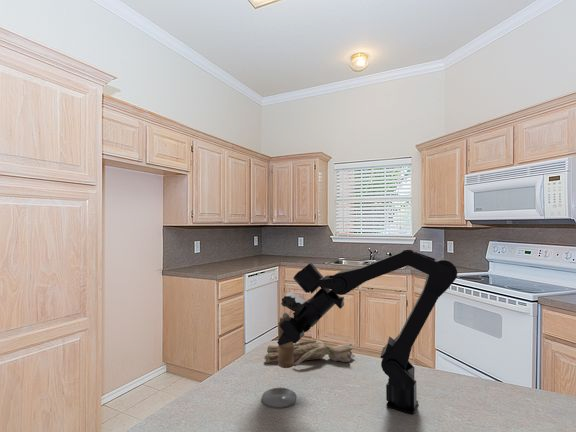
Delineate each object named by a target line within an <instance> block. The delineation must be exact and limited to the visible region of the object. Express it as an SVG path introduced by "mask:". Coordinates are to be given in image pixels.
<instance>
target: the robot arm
mask: <svg viewBox="0 0 576 432" xmlns="http://www.w3.org/2000/svg"><path fill="white" fill-rule="evenodd" d="M408 266H409V267H411V268H413V269H415V270H417V271H420V272H422V273H423V274H426V278H425V281H424V285H423V288H422V291H421V293H420V294H419V296H418V298H417V299H416V302H415V304H414V306H413V307H412V310H411V311H410V313H409V315H408V316H407V319H406V320H405V322H404V325H403V326H402V328H401V330H400V332H399V333H398V335H397V336H396V337H395V338H392V337H391V336H388V340H387V343H386V344H385V345H384V346H383V347H382V351H381V352H380V353H381V354H380V359H381V363H380V366H381V369H382V371H383V373H384V374H385V375H386V376H388V379H387V380H388V381H387V383H386V385H385V388H386V389H385V391H386V392H385V395H386V396H385V398H386V399H385V400H386V401H387V403H386V407H387V408H389V409H393V410H396V411H400V412H404V413H406V414H410V415H414V414H415V412H416V409H417V407H418V404H419V400H418V399H417V398H418V397H417V396H418V395H417V380H415V376H416V375H415V366H414V365H413V364H412V363H411V362H410V361H409V360H410V359H409V358H410V356H411V351H412V348H413V346H414V343H415V342H416V340H417V338H418V336H419V334H420V333H421V330H422V329H423V327H424V325H425V324H426V322H427V320H428V318H429V316H430V314H431V312H432V310H433V308H434V307H435V305H436V303H437V301H438V300H439V298H440V297H441V296H442V295H443V294H444V293H446V291H447V290H448V289H449V288H450V287H451V285H452V284H453V283H454V282H455V280H456V279H457V277H458V270H457V267H456V266H455V264H454V263H453V262H452V261H451V260H449V259H448V258H445V257H439V258H434V257H431V256H428V255H425V254H422V253H420V252H417V251H415V250H413V249H412V248H405V249H403V250H402V251H400V252H398V253H395V254H393V255H390V256H387V257H385V258H382V259H380V260H377V261H374V262H372V263H369V264H366V265H364V266H361V267H356V268H355V267H354V268H350V269H349V268H348V269H344V270H341V271H339V272H337V273H335V274H333V275H329V274H327V275H325V276H323V275H322V274H321V272H319V270H318V269H317V268H316V267H315V265H314V264H313V263H312V262H309V263H308V264H307V265H306V266H305V267H303V268H302V269H300V270H299V271H298V272H297V273H295V275H294V276H293V277H292V279H293V280H294V281H295V283H297V285H298V286H299V287H300V288H301V289H302V290H303V291H304V292H305V293H306V294H313V293H314V294H313V296H311V297H310V298H309V299H307V300H305V299H303V298H302V297H301V296H299V295H297V294H295V293H294V292H291V291H289V292H287V293H285V295H284V297H282V299H281V302H280V305H281V306H282V307H286V308H287V309H289V310H291V311H292V312H293V313H292V315H293V316H292V317H291V316H289V317H288V318H287V319H285V320H284V321H283V322H282V323H281V324H280V328H281V329H282V330H283V331H284V332H283V333H282V335H281V337H280V338H279V340H278V339H277V342H276V343H277V344H279V345H283V344H286V343H289V342H293V343H294V344H297V343H299V341H300V340H301V339H302V338H303V337H304V336H305V333H306V332H309V331H310V330H311V328H313V327H314V326H315V325H316V324H317V323H318V322H319V320H320V319H321V318H322V317H324V315H326V313H328V312H329V311H330V310H331V309H332V308H333V307H334V306H336V307H338V309H340V310H341V309H342V308H343V307H344V306H345V302H344V300H345V296H344V295H346V294H349V293H350V292H351V291H354V290H355V289H357V288H358V287H359V286H361V285H362V284H364V283H366V282H368V281H370V280H373V279H376V278H379V277H381V276H384V275H386V274H389V273H391V272H394V271H397V270H399V269H402V268H405V267H408ZM319 288H320V289H319ZM317 290H318V291H317ZM316 291H317V292H316Z"/></svg>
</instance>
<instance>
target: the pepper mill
mask: <svg viewBox="0 0 576 432" xmlns="http://www.w3.org/2000/svg"><path fill="white" fill-rule="evenodd" d="M281 316H282V317H279V321H278V323H277V327H278V328H277V329H278V331H277V333H278V335H277V338H278V339H277V341H278V340H279V338H280V337H281V335H282V333H283V332H284V331H283V330H282V329H281V328H280V324H281V323H282V322H283V321H284V320H285V319H287V318H288V317H290V314H289V313H288V312H283V314H282V315H281ZM277 344H278V343H277ZM294 344H295V343H293V342H289V343H286V344H283V345H279V344H278V345H277V346H278V364H277V365H278V367H279V368H281V369H290V368H293V367H295V366H294V363H295V361H294Z"/></svg>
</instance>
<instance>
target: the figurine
mask: <svg viewBox="0 0 576 432" xmlns="http://www.w3.org/2000/svg"><path fill="white" fill-rule="evenodd" d="M266 349H267V350H266V352H267V354H266V356H265V363H267V364H275V363H276V364H277V363H278V345H273V344H272V345H271V344H270V345H268V347H267V348H266ZM353 349H354V347H353V344H352V343H347V344H339V345H335V346H333V347H332V346H330V345H327V344H325V343H324V342H323V341H321V340H320V339H312V340H311V339H307V340H304V341H302V342H297V343H294V366H293V367H297V366H299V365H301V363H302V362H303V361H308V360H309V361H310V360H312V361H313V360H320V359H323V358H324V357H325V356H327V355H328V358H329V359H330V360H332V361H334V362H342V363H348V362H351V360H353V358H355V357H356V355H355V354H354V353H352V350H353Z"/></svg>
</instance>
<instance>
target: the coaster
mask: <svg viewBox="0 0 576 432" xmlns="http://www.w3.org/2000/svg"><path fill="white" fill-rule="evenodd" d="M261 401H262V403H263V405H266V406H267V407H270V408H273V409H285V408H289V407H292V406H293V405H295V403H296V402H297V394H296V392H295V391H293V390H291V389H289V388H285V387H276V388H275V387H274V388H270V389H267V390H265V392H264V393H262V395H261Z"/></svg>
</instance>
